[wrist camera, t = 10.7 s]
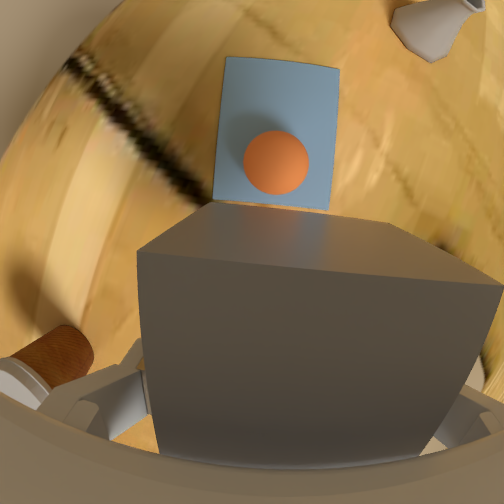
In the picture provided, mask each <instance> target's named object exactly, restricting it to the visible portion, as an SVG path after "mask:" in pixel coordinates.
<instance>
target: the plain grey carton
mask: <svg viewBox="0 0 504 504" xmlns="http://www.w3.org/2000/svg"><path fill="white" fill-rule="evenodd" d="M137 280H138V300H139V315H140V328H141V339H142V348H143V357H144V366H145V373H146V381H147V388H148V394H149V401H150V407H151V413H152V418H153V424H154V429H155V434H156V439H157V444H158V448H159V453H160V454H162V455H166V456H171V457H176V458H181V459H186V460H192V461H198V462H204V463H211V464H219V465H227V466H236V467H248V468H263V469H327V468H342V467H353V466H363V465H371V464H378V463H385V462H391V461H397V460H402V459H408V458H413V457H417V456H419V455H420V453H421V452H422V450H423V449H424V448H425V446H426V445H427V443H428V442H429V441H430V439H431V438H432V436H433V435H434V434H435V432H436V431H437V429H438V428H439V426H440V425H441V423H442V421H443V420H444V418H445V417H446V415H447V413H448V412H449V410H450V408H451V407H452V405H453V403H454V402H455V400H456V398H457V396H458V395H459V393H460V391H461V389H462V387H463V385H464V384H465V382H466V380H467V378H468V376H469V374H470V372H471V370H472V368H473V366H474V364H475V362H476V359H477V357H478V355H479V353H480V351H481V349H482V346H483V344H484V342H485V339H486V337H487V334H488V332H489V329H490V327H491V324H492V322H493V319H494V316H495V314H496V311H497V308H498V305H499V302H500V299H501V296H502V293H503V290H504V285H503V284H501V283H499V282H498V281H496V280H494V279H493V278H491V277H489V276H488V275H486V274H484V273H483V272H481V271H479V270H477V269H476V268H474V267H472V266H470V265H469V264H467V263H465V262H463V261H461V260H460V259H458V258H456V257H454V256H452V255H451V254H449V253H447V252H445V251H443V250H441V249H439V248H437V247H436V246H434V245H432V244H430V243H428V242H426V241H424V240H422V239H420V238H418V237H416V236H414V235H412V234H410V233H408V232H406V231H404V230H402V229H400V228H398V227H396V226H394V225H392V224H390V223H384V222H378V221H371V220H364V219H357V218H350V217H343V216H335V215H327V214H319V213H311V212H303V211H294V210H286V209H276V208H267V207H257V206H247V205H237V204H226V203H214V202H210V203H208V204H207V205H205V206H203V207H202V208H200V209H199V210H197V211H196V212H194V213H193V214H191V215H189V216H188V217H186V218H185V219H183V220H182V221H180V222H179V223H177V224H176V225H174V226H173V227H171V228H170V229H168V230H167V231H165V232H164V233H162V234H161V235H159V236H158V237H156V238H155V239H153V240H152V241H150V242H149V243H147V244H146V245H145V246H143V247H142V248H140V249H139V250H137Z"/></svg>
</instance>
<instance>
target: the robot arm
mask: <svg viewBox="0 0 504 504" xmlns="http://www.w3.org/2000/svg"><path fill="white" fill-rule="evenodd" d="M147 414H150V415H152V413H151V407H150V401H149V394H148V388H147V381H146V373H145V366H144V357H143V348H142V339H141V338H138V339H137V340H136V341H135V343H134V344H133V345H132V347H131V348H130V350H129V351H128V353H127V354H126V356H125V357H124V358H123V360H122V361H121V363H120V364H119V365H116V364H114V365H111V366H109V367H106V368H104V369H101V370H99V371H96V372H94V373H91V374H89V375H86V376H84V377H81V378H78V379H76V380H73V381H70V382H68V383H65V384H62V385H60V386H57V387H54V389H53V390H52V391H51V392H50V393H49V395H48V396H47V397H46V398H45V400H44V401H43V402H42V403H41V405H40V406H39V407H38V408H37V410H34V409H32V408H30V407H28V406H26V405H24V404H22V403H20V402H18V401H16V400H15V399H13V398H11V397H9V396H7V395H6V394H4V393H2V392H0V504H504V404H503V403H501V402H499V401H497V400H495V399H493V398H491V397H489V396H487V395H485V394H483V393H481V392H479V391H477V390H475V389H473V388H471V387H469V386H467V385H465V384H464V385H463V387H462V389H461V391H460V393H459V395H458V396H457V398H456V400H455V402H454V403H453V405H452V407H451V408H450V410H449V412H448V413H447V415H446V417H445V418H444V420H443V421H442V423H441V425H440V426H439V428H438V429H437V431H436V432H435V434H434V435H433V436H434V437H435V438H436V439H438V440H439V441H440V442H441V443H442V444H444V445H445V446H446V447H447V448H448V449H446V450H442V451H438V452H435V453H430V454H426V455H422V456H417V457H413V458H408V459H402V460H397V461H391V462H385V463H378V464H371V465H363V466H353V467H342V468H327V469H263V468H248V467H236V466H227V465H219V464H211V463H204V462H198V461H192V460H186V459H181V458H176V457H171V456H166V455H162V454H157V453H153V452H149V451H145V450H141V449H137V448H134V447H130V446H127V445H123V444H120V443H117V442H113V441H111V440H112V439H114V438H115V437H117V436H118V435H120V434H121V433H123V432H124V431H126V430H127V429H129V428H130V427H131V426H133V425H134V424H136V423H137V422H139V421H140V420H141V419H143V418H144V417H146V416H147Z"/></svg>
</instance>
